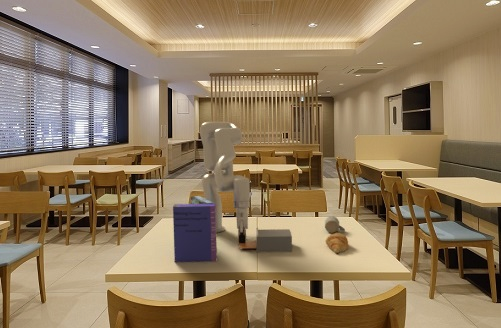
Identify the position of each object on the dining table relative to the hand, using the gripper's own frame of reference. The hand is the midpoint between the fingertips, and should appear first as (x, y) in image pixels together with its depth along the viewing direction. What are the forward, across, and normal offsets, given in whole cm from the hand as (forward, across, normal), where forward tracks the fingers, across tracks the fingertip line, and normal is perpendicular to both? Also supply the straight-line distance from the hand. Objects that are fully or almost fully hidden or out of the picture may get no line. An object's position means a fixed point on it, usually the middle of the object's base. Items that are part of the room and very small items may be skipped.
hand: (242, 242), depth 173 cm
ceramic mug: (+3, +26, -49) cm, 56 cm away
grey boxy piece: (+3, 0, -15) cm, 15 cm away
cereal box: (+3, -16, +19) cm, 25 cm away
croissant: (+3, 0, -44) cm, 44 cm away
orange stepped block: (+2, 0, -6) cm, 7 cm away
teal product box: (+3, +2, +19) cm, 20 cm away
